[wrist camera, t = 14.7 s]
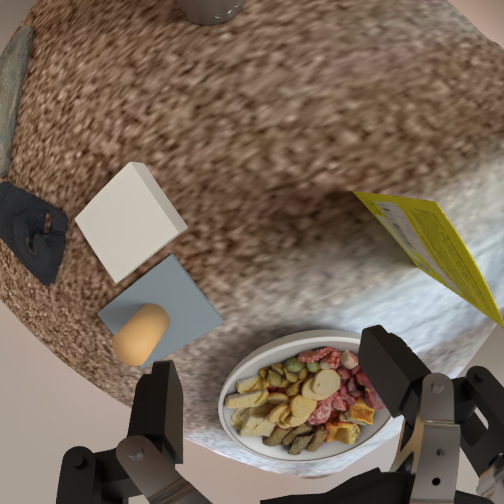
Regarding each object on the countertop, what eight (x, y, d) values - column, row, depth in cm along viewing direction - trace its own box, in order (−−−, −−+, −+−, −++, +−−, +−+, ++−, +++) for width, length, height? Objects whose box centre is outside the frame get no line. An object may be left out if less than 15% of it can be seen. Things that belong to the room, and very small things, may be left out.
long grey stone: (-3, 179, 38) (22, 173, 38) (-19, 182, 33) (4, 175, 33) (15, 37, 28) (44, 20, 28) (2, 32, 23) (30, 13, 23)
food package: (420, 265, 35) (508, 325, 16) (415, 270, 36) (501, 334, 16) (354, 188, 34) (439, 196, 14) (348, 194, 34) (429, 208, 15)
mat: (98, 312, 41) (96, 313, 40) (172, 253, 37) (171, 254, 37) (143, 366, 43) (142, 368, 42) (224, 320, 39) (223, 322, 39)
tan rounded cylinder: (133, 312, 40) (105, 341, 31) (154, 297, 39) (127, 326, 30) (154, 337, 40) (130, 370, 32) (176, 324, 39) (154, 357, 31)
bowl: (295, 460, 47) (296, 487, 40) (187, 387, 43) (174, 418, 36) (418, 386, 41) (434, 412, 33) (329, 278, 37) (343, 301, 30)
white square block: (90, 215, 37) (74, 219, 33) (143, 163, 35) (130, 161, 31) (129, 274, 39) (116, 283, 35) (188, 227, 36) (178, 232, 33)
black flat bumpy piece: (11, 167, 36) (-6, 168, 32) (76, 219, 38) (58, 223, 33) (-3, 234, 40) (-19, 238, 36) (56, 292, 42) (41, 302, 37)
